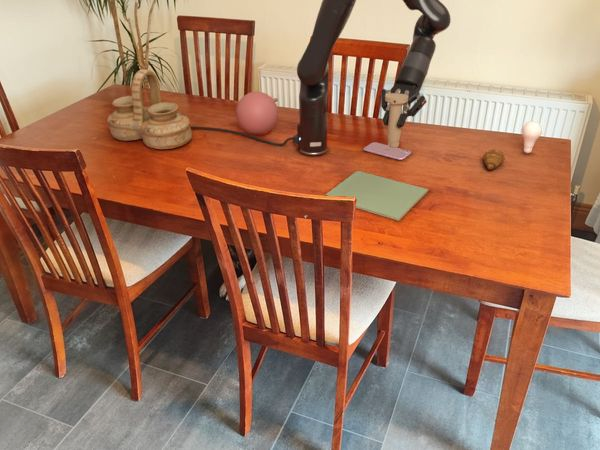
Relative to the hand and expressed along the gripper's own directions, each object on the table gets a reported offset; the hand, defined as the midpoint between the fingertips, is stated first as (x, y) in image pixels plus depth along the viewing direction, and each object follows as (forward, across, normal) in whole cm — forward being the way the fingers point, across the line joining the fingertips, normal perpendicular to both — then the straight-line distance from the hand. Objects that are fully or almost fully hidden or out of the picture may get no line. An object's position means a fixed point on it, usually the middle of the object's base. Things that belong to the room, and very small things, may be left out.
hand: (391, 125), depth 155 cm
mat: (+18, 0, +9) cm, 20 cm away
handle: (+4, 0, +6) cm, 7 cm away
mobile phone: (-2, -11, +30) cm, 32 cm away
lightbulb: (-19, +29, +47) cm, 58 cm away
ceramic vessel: (+22, -90, +6) cm, 93 cm away
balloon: (+3, -59, +25) cm, 64 cm away
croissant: (-9, +22, +37) cm, 44 cm away
